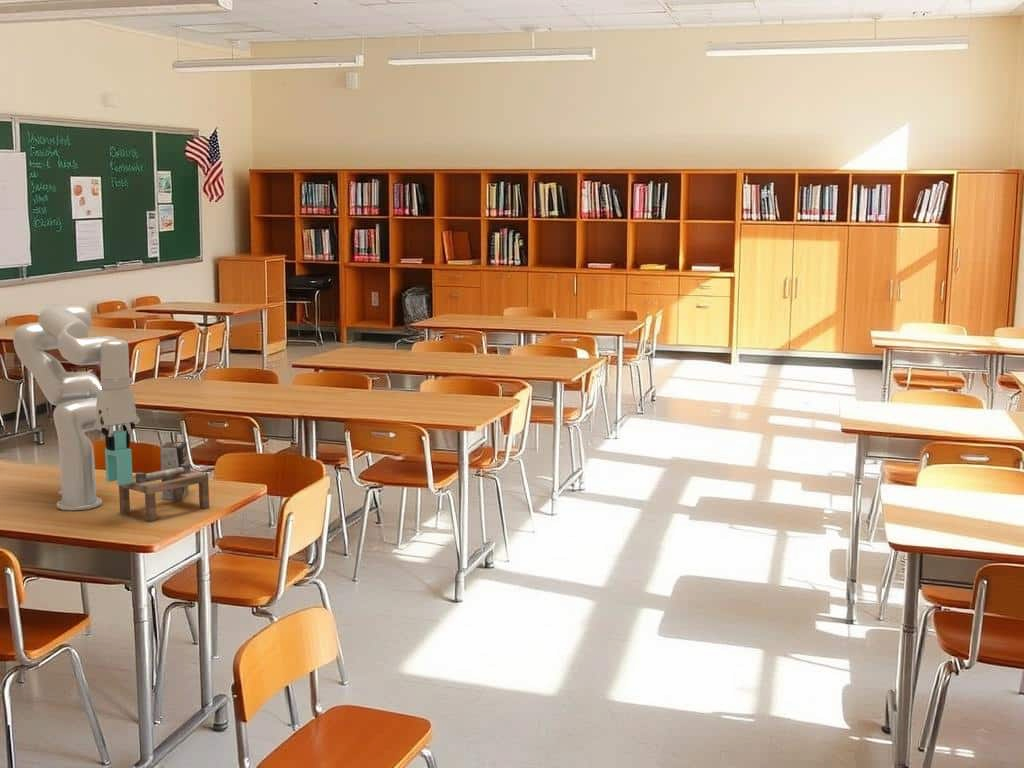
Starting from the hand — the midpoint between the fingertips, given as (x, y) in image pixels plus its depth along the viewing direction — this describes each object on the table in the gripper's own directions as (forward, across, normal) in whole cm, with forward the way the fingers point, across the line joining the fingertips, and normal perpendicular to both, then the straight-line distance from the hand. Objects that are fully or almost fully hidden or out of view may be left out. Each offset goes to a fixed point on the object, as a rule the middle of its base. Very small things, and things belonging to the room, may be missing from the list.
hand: (118, 447), depth 319 cm
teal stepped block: (+10, 0, 0) cm, 10 cm away
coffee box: (+21, -26, -11) cm, 35 cm away
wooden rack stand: (+21, -14, +1) cm, 25 cm away
